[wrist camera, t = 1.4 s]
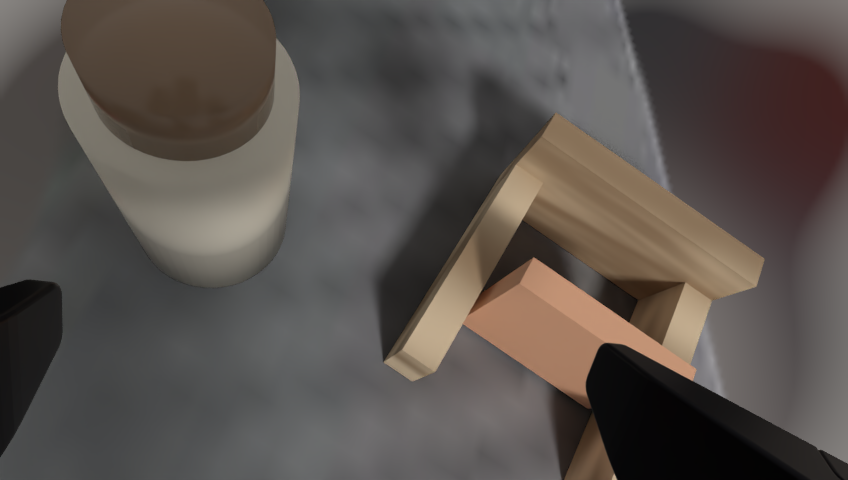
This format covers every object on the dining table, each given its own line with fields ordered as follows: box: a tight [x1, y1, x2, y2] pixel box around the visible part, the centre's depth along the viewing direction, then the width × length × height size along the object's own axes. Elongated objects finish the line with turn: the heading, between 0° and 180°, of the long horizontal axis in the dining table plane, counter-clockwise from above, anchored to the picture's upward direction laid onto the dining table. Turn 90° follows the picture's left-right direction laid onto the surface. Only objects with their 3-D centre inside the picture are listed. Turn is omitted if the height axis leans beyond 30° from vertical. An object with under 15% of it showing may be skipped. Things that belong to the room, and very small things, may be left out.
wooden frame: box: [384, 113, 764, 480], centre depth 24 cm, size 12×11×6 cm
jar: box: [58, 0, 300, 288], centre depth 18 cm, size 6×6×12 cm
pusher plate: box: [463, 257, 696, 409], centre depth 22 cm, size 1×7×6 cm, turn 59°
